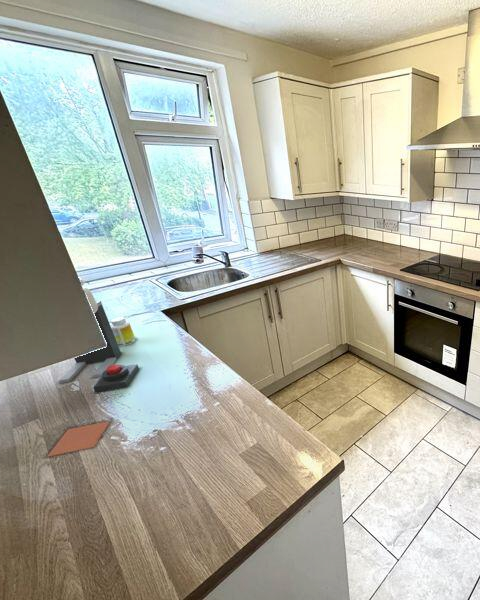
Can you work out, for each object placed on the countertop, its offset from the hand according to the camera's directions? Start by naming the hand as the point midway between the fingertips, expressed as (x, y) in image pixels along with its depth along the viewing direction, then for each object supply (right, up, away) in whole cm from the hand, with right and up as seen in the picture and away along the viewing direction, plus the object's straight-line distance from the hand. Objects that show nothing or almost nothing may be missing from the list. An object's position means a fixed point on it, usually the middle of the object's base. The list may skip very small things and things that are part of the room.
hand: (57, 334), depth 88 cm
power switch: (+3, -16, +15) cm, 23 cm away
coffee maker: (-11, -14, +22) cm, 28 cm away
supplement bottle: (-12, -7, +37) cm, 39 cm away
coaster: (+12, -26, -6) cm, 29 cm away
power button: (+3, -13, +14) cm, 19 cm away
